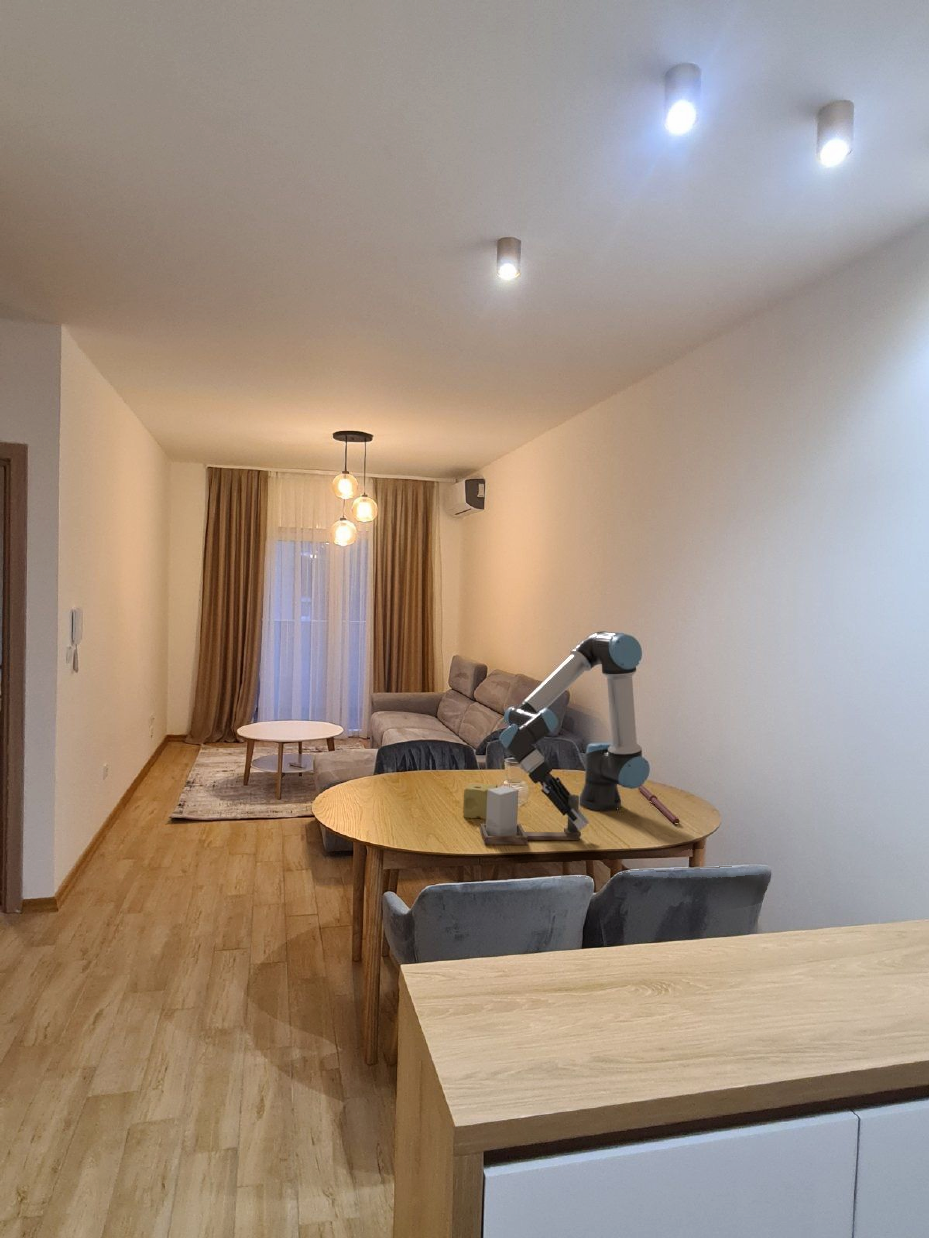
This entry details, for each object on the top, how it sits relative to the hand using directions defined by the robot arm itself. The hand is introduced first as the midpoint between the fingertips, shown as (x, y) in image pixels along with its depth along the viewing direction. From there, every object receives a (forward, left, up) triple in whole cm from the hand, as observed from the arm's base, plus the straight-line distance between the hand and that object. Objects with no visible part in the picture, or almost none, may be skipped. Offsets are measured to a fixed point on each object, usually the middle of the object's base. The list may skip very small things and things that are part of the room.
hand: (584, 826), depth 242 cm
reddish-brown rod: (-37, -39, -5) cm, 54 cm away
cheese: (+30, -27, -5) cm, 41 cm away
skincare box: (+26, -2, -5) cm, 27 cm away
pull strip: (+17, -2, -4) cm, 17 cm away
